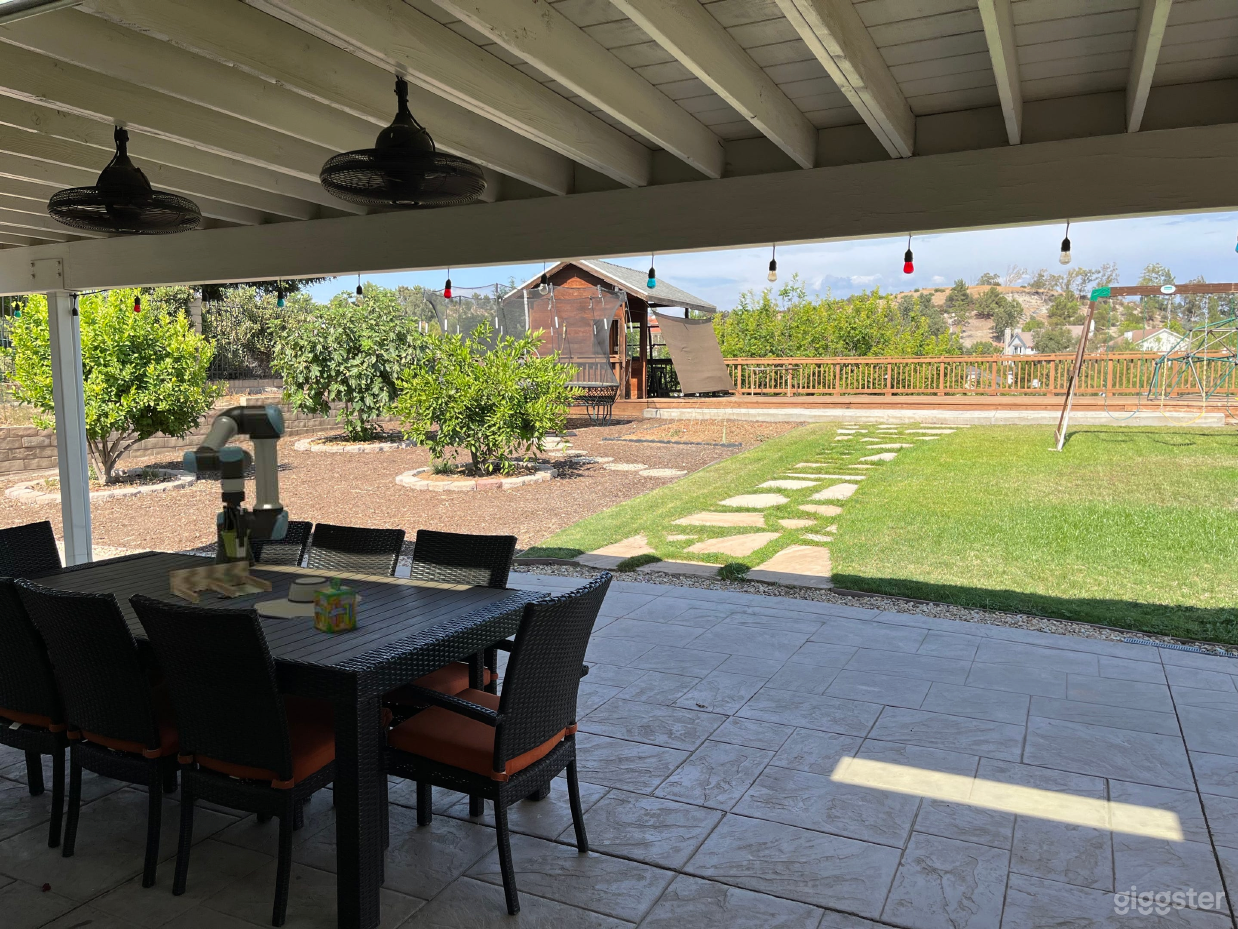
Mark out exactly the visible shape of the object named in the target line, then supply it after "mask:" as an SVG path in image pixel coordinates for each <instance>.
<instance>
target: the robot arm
mask: <svg viewBox="0 0 1238 929" xmlns="http://www.w3.org/2000/svg"><path fill="white" fill-rule="evenodd" d="M285 423H286V422H285V419H284V414H283V412H282V409H281V408H280V407H279V406H277V405H270V404H268V405H267V404H265V405H237V406H233V407H230V408H228V409H224V410H223V411H222V412H220V413H218V415H216V417H214V418H213V421H212V422H211V426H210V429H209V431H208V432H207V434H206V435H205V437H204V438H203V440H202V441H201V442H200V444H199V445H198V447H197V448H196V450H188V451H185V452H184V453H183V455H182V465H183V469H184V470H185V472H187V473H209V472H214V473H215V472H216V473H217V472H220V482H219V485H220V487H221V488H220V489H221V493H220V495H221V502H222V503H224V504H226V505H224V504H223V505H222V511H220V512H218V513H217V515H216V523H215V525H216V539H217V550H216V554H215V558H214V560H213V566H215V565H222V564H229V563H236V562H243V561H249V568H251V566H252V567H254V566H255V565H256V559H255V556H254V554H253V552H252V549H251V546H250V541H262V540H264V541H265V540H266V541H267V540H271V541H273V540H281V539H283V538H285V536H286V534H287V531H288V527H289V518H290V517H289V511H288V510H286V509H284V504H282V503H281V502H280V491H279V490H280V489H279V488H280V486H279V468H278V465H279V464H278V461H279V460H278V444H277V443H278V442H279V441H280V440H281V439H282V438H281V436H282V435H284V434H285V431H286V426H285V425H286V424H285ZM240 435H241V436H242V435H243V436H246V435H247V436H248V439H249V441H250V442H251V443H252V444H253V455H254V457H253V455H252V453H251V452H250V451H248V450H247V449H243V447H242V446H240V445H239V446H238V445H237V446H236V445H234V446H233V445H231V446H230V445H229V446H227V444H228V442H229V441H230V440H231V439H232V438H234V437H235V436H240ZM253 463H254V476H255V478H254V481H255V500H256V503H255V504H254V505H253V506H252V511H251V510H250V511H249V508H248V507H242V505H241V503H243V502H246V492H245V491H244V490H245V488H246V486H245V484H246V483H245V471H247V470H248V469H249V468H251V466H252V465H253ZM234 529H235V530H236V533H237V537H235V539H236V550H237V557H231V556H229V557H228V556H227V552H226V547H225V543H224V538H223V537H222V534H221V532H222V531H226V530H234ZM247 529H248V530H250V532H249V534H247ZM247 536H248V538H247V549H246V555H245V537H247ZM253 565H254V566H253Z"/></svg>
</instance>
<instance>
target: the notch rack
mask: <svg viewBox="0 0 1238 929" xmlns="http://www.w3.org/2000/svg"><path fill="white" fill-rule="evenodd" d="M243 583H245V584H243ZM238 584H239V585H238ZM232 585H233V586H232ZM169 587H170V589H169V590H170V595H171V594H175V595H178V596H180V597H182V598H185V599H187V600H189V601H192V603H191V604H193V603H199V604H200V595H199V594H197V593H194V591H196V592H200V591H199V590H202V591H207V590H206V589H208V590H211V589H212V590H211V591H214V590H215V591H214V592H216V591H217V593H219V592H220V593H219V594H221V593H223V594H222V595H224V594H225V596H227V595H228V596H227V597H229V596H230V598H231V599H235V598H234V597H236V598H237V597H240V596H239V595H242V596H246V595H247V594H248V595H253V594H252V593H254V594H258V592H259V593H264V591H265V592H267V591H268V593H270V592H269V591H271V592H272V591H273V590H272V588H273V587H272V583H271V582H269V581H268V580H267V581H266V580H264V579H260V578H258V577H255V576H252V575H250V567H249V561H243V562H236V563H229V564H222V565H215V566H214V565H208V566H202V567H195V568H190V569H189V568H188V569H179V570H174V571H169ZM175 595H174V596H175ZM180 597H179V598H180ZM182 598H181V599H182ZM189 601H188V602H189Z"/></svg>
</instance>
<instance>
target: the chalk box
mask: <svg viewBox="0 0 1238 929" xmlns="http://www.w3.org/2000/svg"><path fill="white" fill-rule="evenodd" d="M336 582H337V585H336ZM341 584H342V578H339V577H336V576H334V577H333V579H332V581H331V587H328V588H321V589H315V590H314V617H313V618H314V619H313V620H314V624H313V625H314V628H317V629H319V630H321V631H323V632H325V633H328V634H330V633H329V632H331V633H334V632H340V631H346V630H348V629H349V630H351V629H356V628H357V606H356V594H357V591H356V589H354V588H351V587H350V586H349V587H348V586H346V585H341Z"/></svg>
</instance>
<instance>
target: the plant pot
mask: <svg viewBox="0 0 1238 929" xmlns="http://www.w3.org/2000/svg"><path fill="white" fill-rule="evenodd" d="M249 532H250V530H248V529H247V534H249ZM221 534H222V537H223V538H224V543H225V547H226V552H227V556H228V557H229V556H231V557H237V550H236V539H235V537H237V533H236V530H235V529H234V530H226V531H222V532H221ZM247 538H248V536H247V537H245V555H246V549H247Z"/></svg>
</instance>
